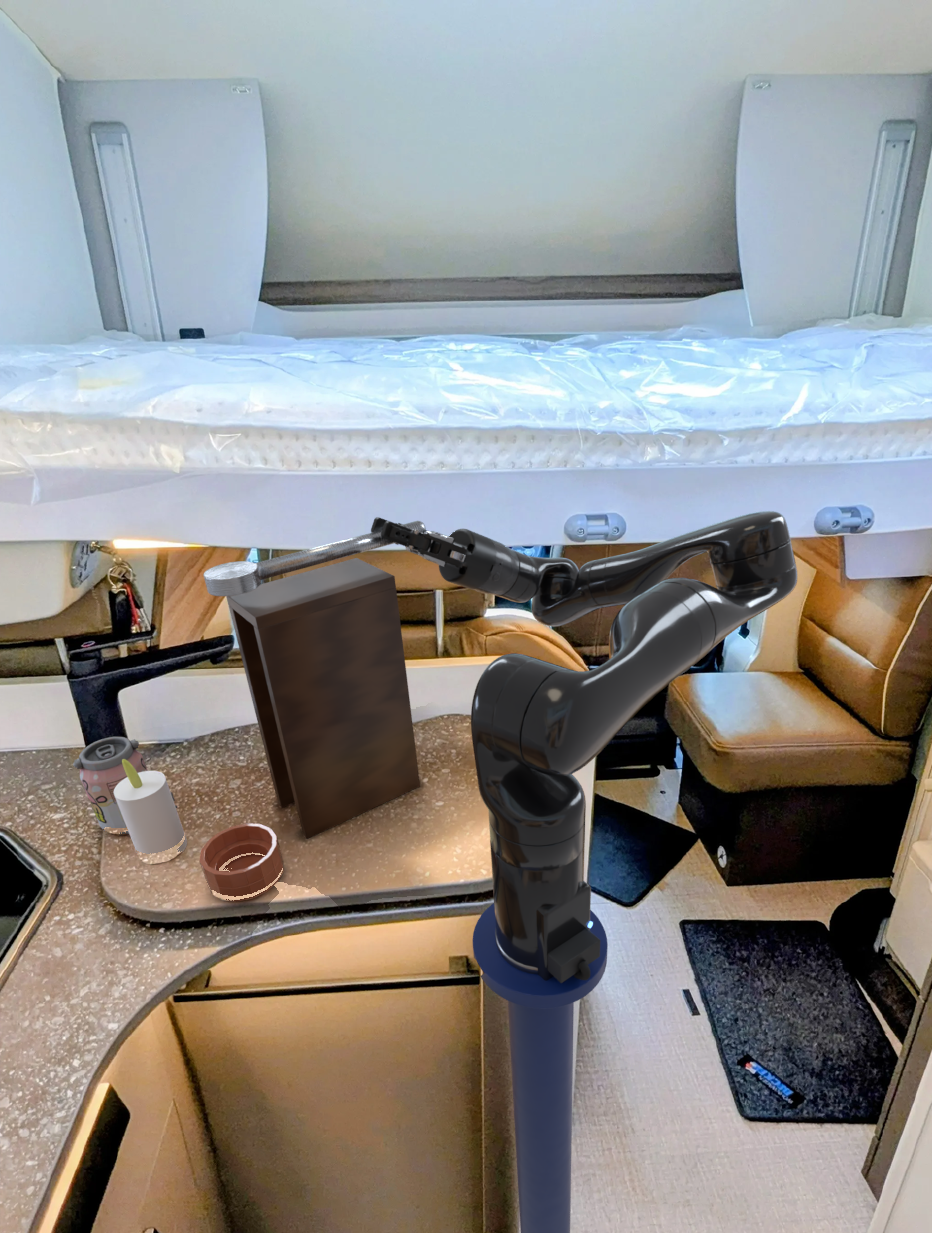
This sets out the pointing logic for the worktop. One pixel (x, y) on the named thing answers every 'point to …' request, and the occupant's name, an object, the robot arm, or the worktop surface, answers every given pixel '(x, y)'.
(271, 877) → the bowl
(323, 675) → the shelf
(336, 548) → the ladle
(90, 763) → the beverage can
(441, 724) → the worktop surface
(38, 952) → the worktop surface
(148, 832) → the candle
